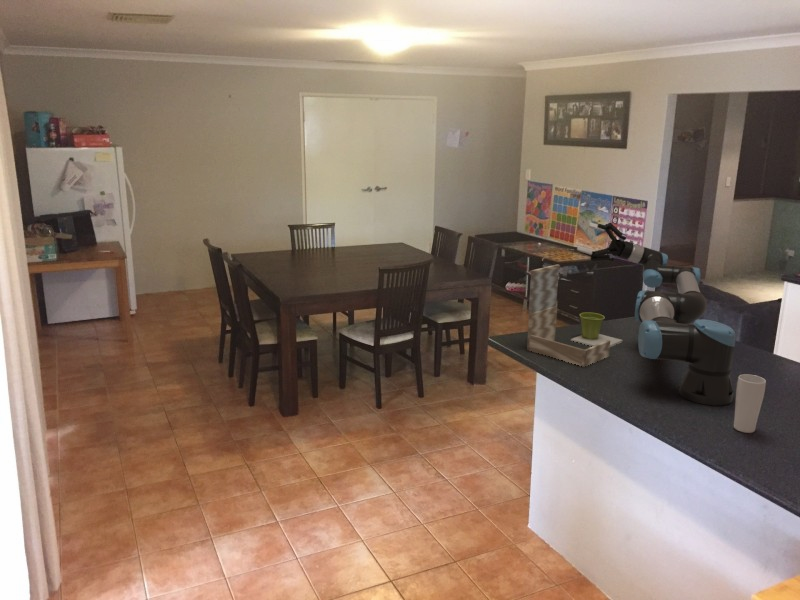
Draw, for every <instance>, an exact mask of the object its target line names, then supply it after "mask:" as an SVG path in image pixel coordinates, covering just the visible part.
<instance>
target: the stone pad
mask: <svg viewBox="0 0 800 600" xmlns="http://www.w3.org/2000/svg"><path fill="white" fill-rule="evenodd" d="M607 340H609V341H610V348H611V347H614V346H617V345H619V344H622V343H623V341H624V340H623V339H621V338H617V337H612V336H609V335H605V334H601V333H599V336H598V338H595V339H587V338H585V337H582V334H581V335H579V336H574V337H572V338H571V339H570V341H571V342H573V341H574V342H573V343H576V342H578V343H577V344H580V343H582V344H581V345H584V344H585V345H584V346H587V345H589V347H591V346H595V345H597V344H600V343H602V342H605V341H607ZM616 344H617V345H616Z"/></svg>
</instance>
